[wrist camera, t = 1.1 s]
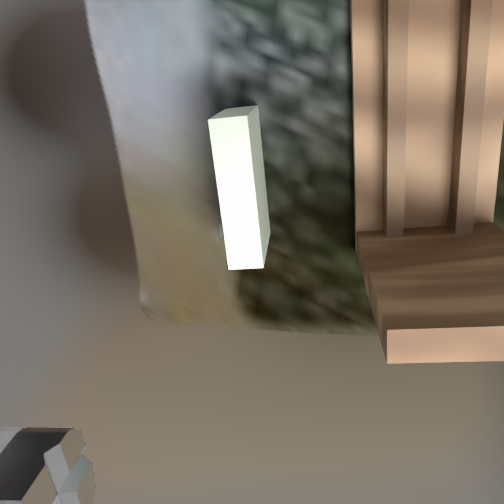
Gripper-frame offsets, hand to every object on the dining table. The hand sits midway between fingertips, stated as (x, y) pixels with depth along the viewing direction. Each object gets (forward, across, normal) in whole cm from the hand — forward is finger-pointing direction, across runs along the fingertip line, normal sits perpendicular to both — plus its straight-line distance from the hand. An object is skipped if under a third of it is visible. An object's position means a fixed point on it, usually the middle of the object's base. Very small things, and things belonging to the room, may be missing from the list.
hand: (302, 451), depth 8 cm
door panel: (+29, +4, 0) cm, 29 cm away
